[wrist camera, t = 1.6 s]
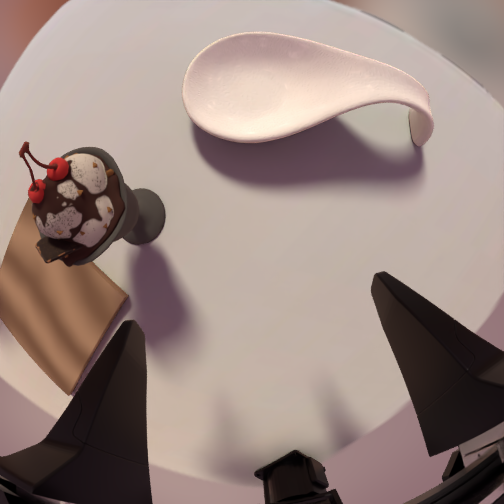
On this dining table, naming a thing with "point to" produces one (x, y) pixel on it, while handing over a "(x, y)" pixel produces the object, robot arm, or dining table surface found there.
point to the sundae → (88, 207)
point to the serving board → (54, 305)
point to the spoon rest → (290, 87)
